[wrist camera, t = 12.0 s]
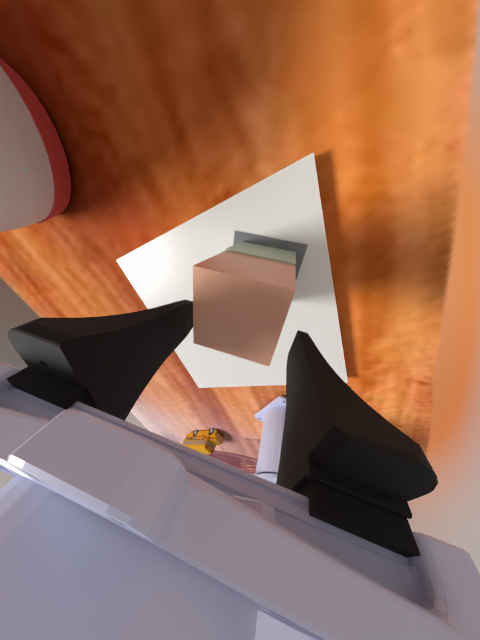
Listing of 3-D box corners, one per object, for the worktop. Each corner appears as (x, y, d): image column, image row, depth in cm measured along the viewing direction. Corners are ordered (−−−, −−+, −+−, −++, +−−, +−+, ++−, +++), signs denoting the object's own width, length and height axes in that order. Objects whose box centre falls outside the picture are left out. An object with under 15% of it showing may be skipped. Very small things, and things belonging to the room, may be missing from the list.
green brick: (295, 251, 15) (296, 263, 11) (280, 301, 17) (276, 324, 13) (242, 241, 15) (225, 248, 12) (235, 290, 18) (219, 309, 14)
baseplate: (345, 376, 21) (348, 383, 20) (201, 383, 30) (198, 388, 29) (312, 156, 12) (313, 151, 11) (123, 258, 21) (115, 260, 20)
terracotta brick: (295, 265, 11) (295, 289, 7) (276, 325, 14) (269, 366, 10) (225, 250, 12) (192, 265, 8) (219, 310, 14) (193, 343, 11)
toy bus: (226, 435, 38) (219, 455, 34) (196, 437, 42) (188, 455, 39) (217, 427, 37) (210, 446, 33) (188, 430, 41) (179, 447, 38)
